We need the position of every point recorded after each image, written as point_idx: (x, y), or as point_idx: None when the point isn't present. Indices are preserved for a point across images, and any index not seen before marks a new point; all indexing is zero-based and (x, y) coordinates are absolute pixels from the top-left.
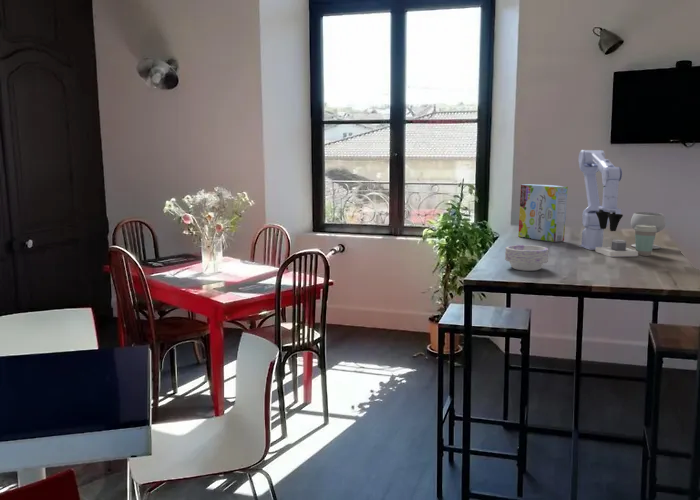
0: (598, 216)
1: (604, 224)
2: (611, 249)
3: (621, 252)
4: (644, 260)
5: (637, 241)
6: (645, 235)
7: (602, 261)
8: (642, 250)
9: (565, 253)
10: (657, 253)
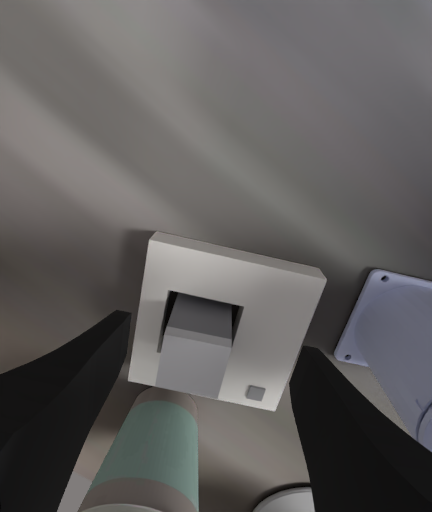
0: (404, 451)
1: (306, 407)
2: (230, 310)
3: (140, 300)
4: (29, 315)
5: (149, 439)
6: (90, 490)
7: (20, 64)
8: (135, 407)
9: (356, 13)
10: None
